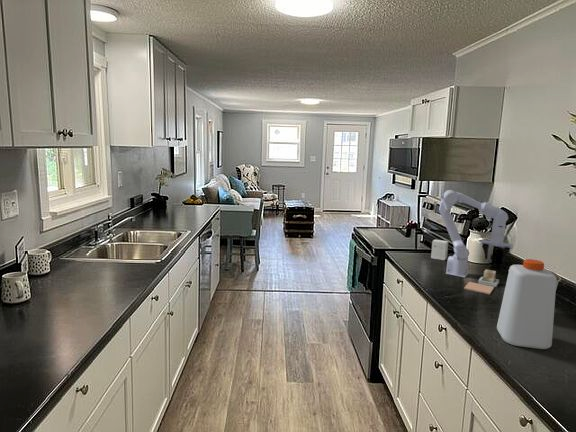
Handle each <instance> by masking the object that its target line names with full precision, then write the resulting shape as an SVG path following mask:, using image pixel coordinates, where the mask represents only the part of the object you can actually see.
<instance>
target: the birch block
mask: <svg viewBox="0 0 576 432" xmlns="http://www.w3.org/2000/svg"><path fill="white" fill-rule="evenodd" d="M496 274H497V271H496V270H491V269H485V270H484V271H483V281H487V282H492V283H495V279H496Z"/></svg>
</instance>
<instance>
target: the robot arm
mask: <svg viewBox="0 0 576 432" xmlns="http://www.w3.org/2000/svg"><path fill="white" fill-rule="evenodd" d="M440 198H441V199H440V203H439V208H438V210H439V214H440V216H441V218H442V220H443V223H444V225H445V227H446V230H447V232H448V235H449V237H450V240H451V242H452V245H453V252H454V254H453V255H449V256H447V263H446V269H445V271H446V272H445V274H446V275H449V276H455V277H461V278H466V277H467V276H468V275H469V273H468V272H467V270H468V263H469V255H470V251H469V249H468V248H467V246H466V245H465V244H464V242H463V239H462V237H461V235H460V233H459V231H458V228H457V226H456V224H455V221H454V218H453V216H452V213H451V210H452V208H453V206H454V205H455V204H457V203H458V204H462V203H463V204H464V203H465V204H467V205H469V206H472V207H473V208H475V209H478V211H479V213H480V214H482V215H484V216H486V217H488V218H491V219H493V220H492V229H491V234H490V235H491V236H490V240H485V239H481V240H480V242H479V243H480V245H482V249H483V252H484V259H485V260H487V259H488V257H489V248H490V246H493V247H498V248H503V251H502V259H501V263H504V262H505V260H506V257H507V255H508V253H509V252H510V250H513V249H514V244H512V243H511V244H510V243H507V242H504V240H505V232H506V223H507V221H508V220H509V215H508V212H506V211H504V210H503V209H501V208H500V207H499V206H494V205H492V203H491V202H489V201H488V202H486V201H485V202H480V201H477V200H476V199H474V198H472V197H470V196H468V195H467V194H464V193H461V192H458V191H454V189H448V190H445V191H444V192H443V193H442V195H441V197H440Z"/></svg>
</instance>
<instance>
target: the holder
mask: <svg viewBox="0 0 576 432" xmlns="http://www.w3.org/2000/svg"><path fill="white" fill-rule="evenodd" d="M483 277H484V275H483V276H480V277H479V279H478V281H477V283H478V284H483V285H487V286H492V287H494V288H497V286H499V285H498V284H500V279H497V278H495V282H494V283H492V282H487V281H483Z"/></svg>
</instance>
